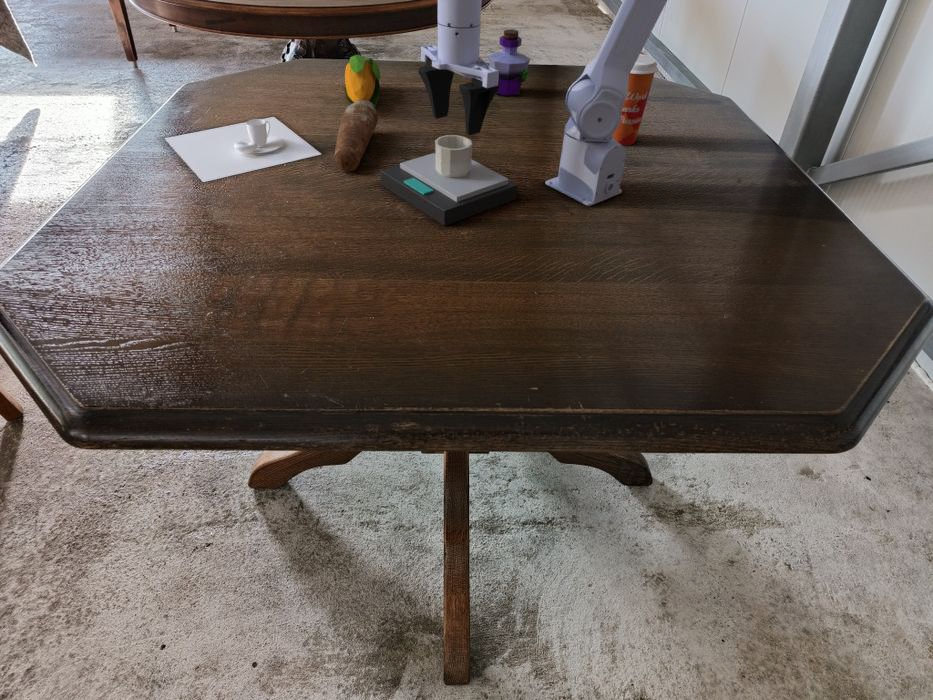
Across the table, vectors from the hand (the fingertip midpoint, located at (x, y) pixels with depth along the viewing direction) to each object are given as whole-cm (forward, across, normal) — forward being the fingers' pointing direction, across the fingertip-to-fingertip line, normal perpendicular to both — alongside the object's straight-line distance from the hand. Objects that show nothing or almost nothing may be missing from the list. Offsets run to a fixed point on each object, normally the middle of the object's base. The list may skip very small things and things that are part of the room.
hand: (456, 124), depth 92 cm
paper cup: (+10, +3, +37) cm, 39 cm away
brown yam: (+10, -20, -5) cm, 23 cm away
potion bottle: (+10, -28, +37) cm, 48 cm away
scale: (+10, +1, -2) cm, 10 cm away
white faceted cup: (+7, +1, -1) cm, 7 cm away
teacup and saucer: (+10, -33, -20) cm, 40 cm away
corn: (+10, -40, +9) cm, 43 cm away
